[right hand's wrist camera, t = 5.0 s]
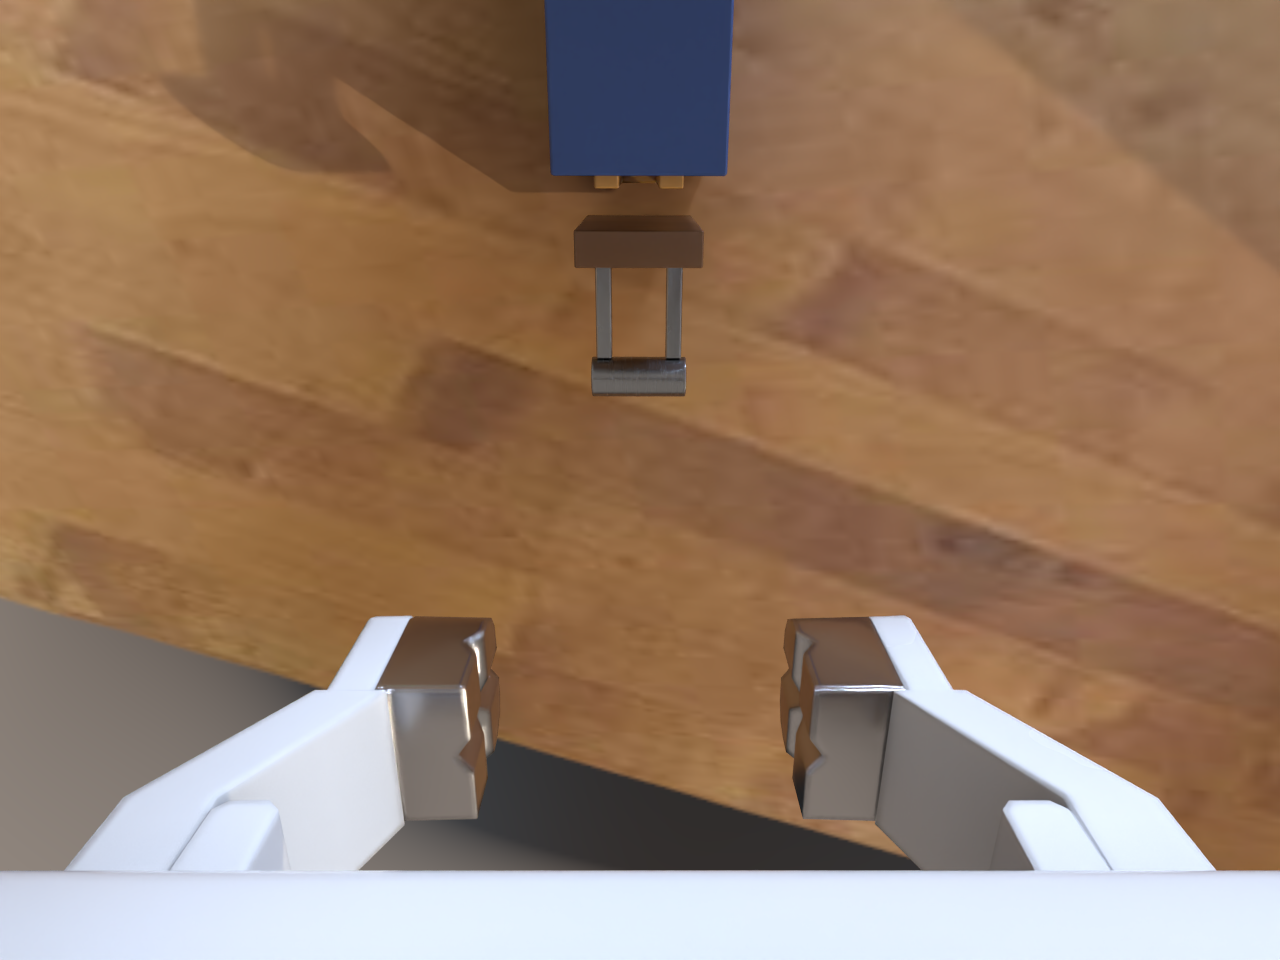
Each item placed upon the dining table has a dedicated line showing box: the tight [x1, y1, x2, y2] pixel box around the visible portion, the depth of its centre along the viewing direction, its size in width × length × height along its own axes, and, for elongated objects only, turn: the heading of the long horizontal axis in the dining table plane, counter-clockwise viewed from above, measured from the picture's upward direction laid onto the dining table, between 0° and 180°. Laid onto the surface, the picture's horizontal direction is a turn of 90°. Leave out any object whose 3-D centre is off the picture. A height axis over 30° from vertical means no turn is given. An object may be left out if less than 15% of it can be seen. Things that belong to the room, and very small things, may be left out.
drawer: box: [574, 176, 704, 396], centre depth 28 cm, size 24×4×7 cm, turn 0°
